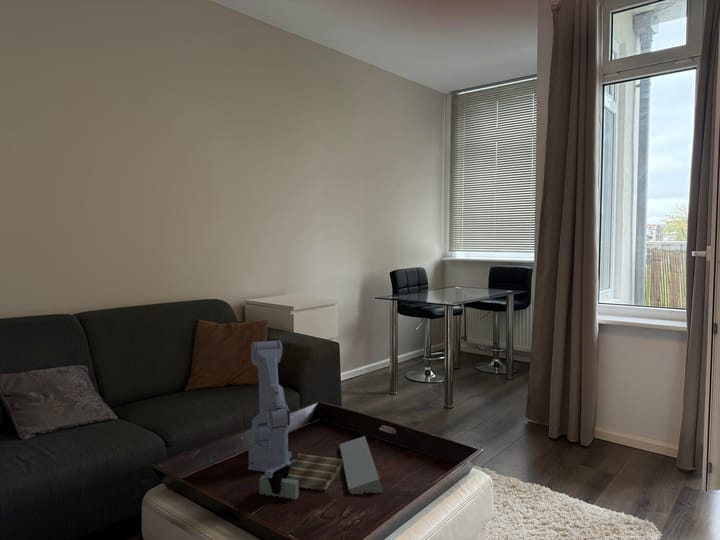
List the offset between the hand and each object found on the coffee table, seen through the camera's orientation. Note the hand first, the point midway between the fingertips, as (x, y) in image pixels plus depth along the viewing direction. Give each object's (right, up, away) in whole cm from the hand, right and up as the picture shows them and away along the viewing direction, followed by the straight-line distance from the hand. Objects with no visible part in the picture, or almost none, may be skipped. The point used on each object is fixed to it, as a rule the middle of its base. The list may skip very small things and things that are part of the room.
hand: (279, 490), depth 155 cm
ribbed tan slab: (+9, -1, +13) cm, 15 cm away
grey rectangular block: (+25, -1, +18) cm, 30 cm away
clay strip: (0, -2, 0) cm, 2 cm away
